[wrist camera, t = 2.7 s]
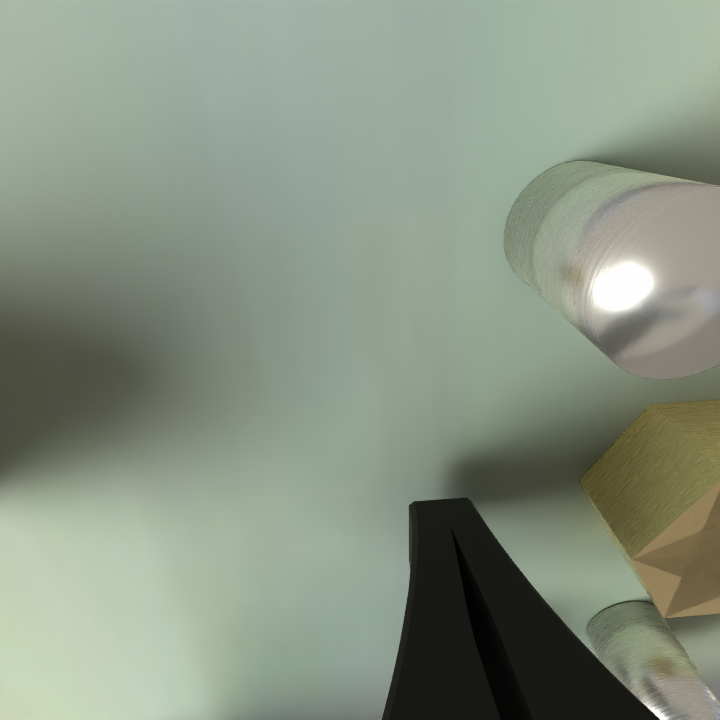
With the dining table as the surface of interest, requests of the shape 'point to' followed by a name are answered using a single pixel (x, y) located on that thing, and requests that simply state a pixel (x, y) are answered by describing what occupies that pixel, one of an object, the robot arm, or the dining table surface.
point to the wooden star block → (666, 503)
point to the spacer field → (630, 344)
